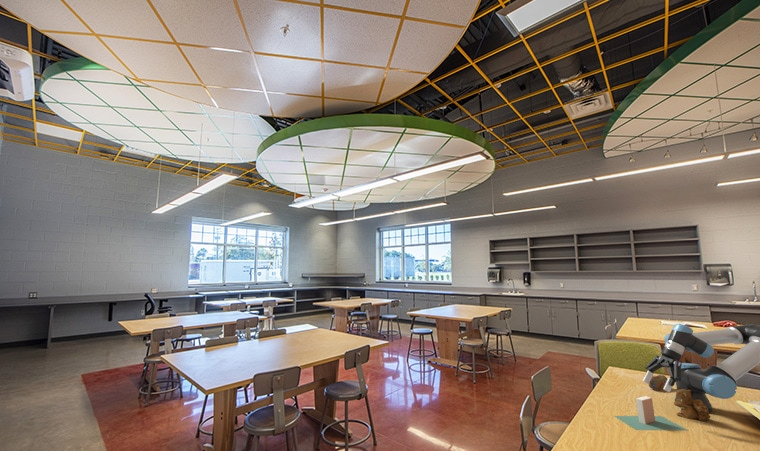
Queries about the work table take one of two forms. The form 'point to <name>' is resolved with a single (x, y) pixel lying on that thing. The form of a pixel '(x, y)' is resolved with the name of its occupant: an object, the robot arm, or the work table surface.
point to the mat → (658, 424)
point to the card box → (645, 410)
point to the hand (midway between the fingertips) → (655, 386)
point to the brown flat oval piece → (657, 382)
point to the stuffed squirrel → (691, 406)
